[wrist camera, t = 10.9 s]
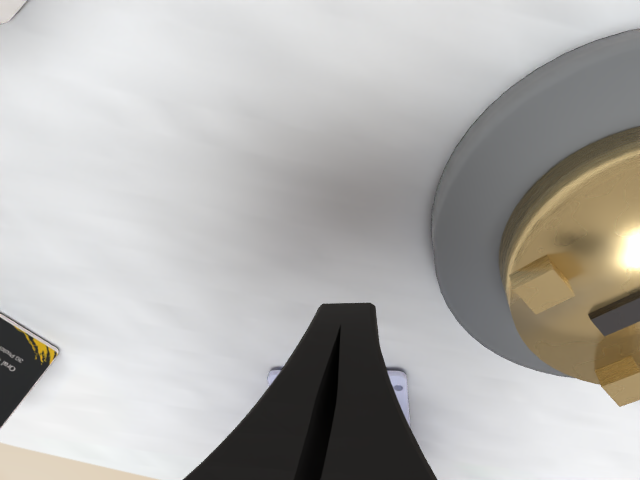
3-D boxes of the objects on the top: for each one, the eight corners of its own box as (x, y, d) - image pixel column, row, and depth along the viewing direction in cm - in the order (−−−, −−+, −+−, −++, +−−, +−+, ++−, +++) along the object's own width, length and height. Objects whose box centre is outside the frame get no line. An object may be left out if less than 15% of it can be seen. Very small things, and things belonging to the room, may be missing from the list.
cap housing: (761, 347, 22) (791, 381, 21) (433, 348, 25) (436, 378, 23) (942, -9, 14) (1015, 0, 12) (427, 52, 17) (430, 67, 15)
